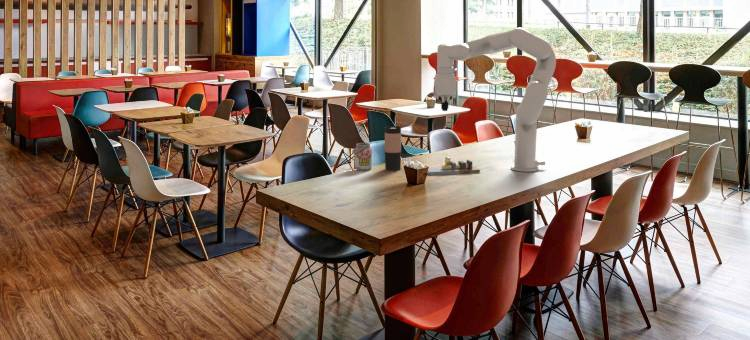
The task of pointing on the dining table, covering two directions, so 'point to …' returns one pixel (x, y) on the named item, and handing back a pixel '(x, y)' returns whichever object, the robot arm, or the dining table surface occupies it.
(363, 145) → the glass jar
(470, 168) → the jamb keeper
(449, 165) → the bolt
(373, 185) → the dining table surface
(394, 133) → the travel mug
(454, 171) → the door plate
